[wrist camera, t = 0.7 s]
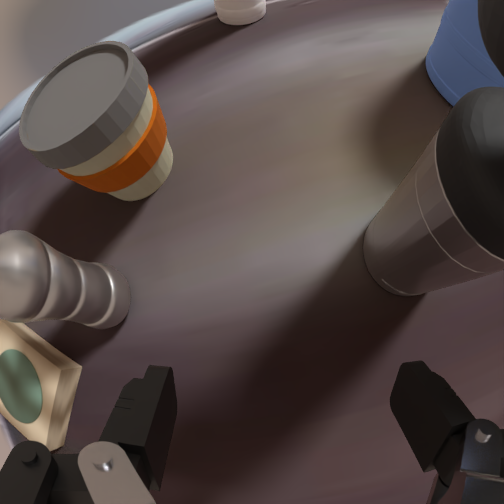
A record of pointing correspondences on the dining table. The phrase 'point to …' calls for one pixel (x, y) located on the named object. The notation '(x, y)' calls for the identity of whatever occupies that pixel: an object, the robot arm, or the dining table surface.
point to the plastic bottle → (57, 285)
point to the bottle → (240, 11)
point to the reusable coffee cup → (99, 123)
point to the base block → (35, 385)
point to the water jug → (460, 54)
